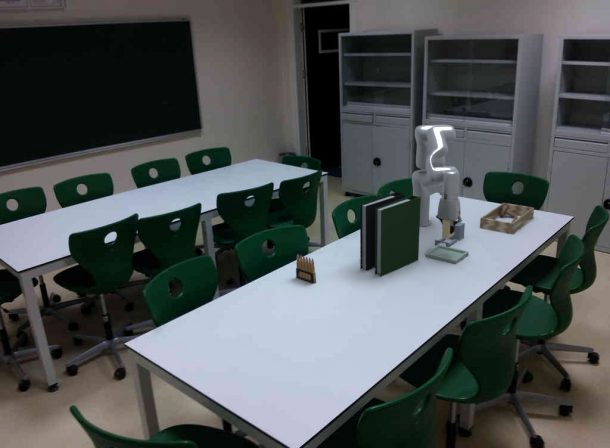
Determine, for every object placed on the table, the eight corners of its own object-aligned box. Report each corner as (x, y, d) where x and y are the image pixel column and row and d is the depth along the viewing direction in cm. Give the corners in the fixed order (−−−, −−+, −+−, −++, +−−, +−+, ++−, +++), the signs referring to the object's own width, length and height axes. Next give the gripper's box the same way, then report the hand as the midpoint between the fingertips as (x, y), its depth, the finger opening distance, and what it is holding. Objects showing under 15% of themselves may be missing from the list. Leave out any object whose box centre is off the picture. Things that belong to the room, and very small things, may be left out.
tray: (425, 256, 265) (425, 253, 264) (438, 248, 275) (438, 244, 274) (455, 264, 255) (456, 260, 254) (468, 254, 265) (468, 251, 264)
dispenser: (434, 244, 279) (434, 230, 277) (450, 234, 293) (450, 220, 290) (448, 247, 274) (449, 233, 272) (463, 237, 288) (464, 223, 285)
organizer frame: (479, 228, 300) (480, 217, 298) (502, 212, 325) (503, 202, 323) (512, 234, 289) (513, 223, 287) (533, 217, 314) (534, 207, 312)
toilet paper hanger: (506, 235, 298) (512, 223, 294) (491, 228, 301) (496, 216, 298) (515, 220, 318) (521, 209, 314) (501, 214, 321) (506, 203, 318)
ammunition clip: (316, 282, 242) (315, 258, 238) (313, 284, 240) (312, 259, 236) (298, 276, 248) (297, 252, 245) (296, 277, 247) (294, 253, 243)
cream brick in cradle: (441, 237, 260) (442, 220, 257) (448, 233, 265) (449, 216, 262) (447, 238, 258) (448, 221, 255) (454, 234, 263) (455, 217, 260)
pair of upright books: (382, 277, 244) (382, 210, 234) (358, 268, 255) (357, 204, 244) (418, 260, 261) (420, 197, 251) (394, 252, 272) (395, 191, 261)
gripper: (430, 195, 257) (429, 231, 263) (463, 200, 247) (460, 237, 253) (437, 191, 262) (436, 227, 268) (469, 196, 252) (467, 233, 258)
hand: (448, 232), depth 260 cm, fingers closed on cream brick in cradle, 3 cm apart
